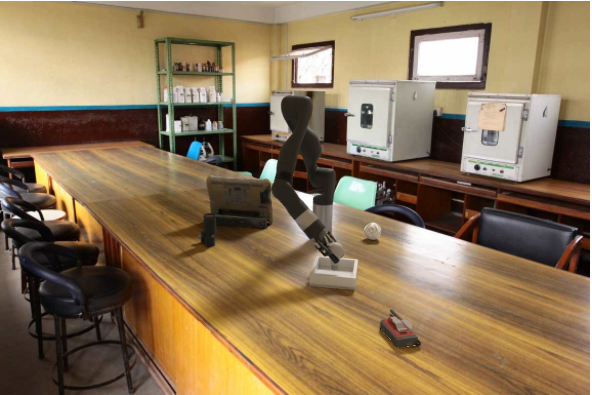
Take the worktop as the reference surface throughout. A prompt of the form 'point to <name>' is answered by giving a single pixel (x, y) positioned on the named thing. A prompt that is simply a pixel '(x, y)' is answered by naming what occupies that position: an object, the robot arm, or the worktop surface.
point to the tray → (334, 273)
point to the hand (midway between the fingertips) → (339, 259)
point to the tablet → (240, 201)
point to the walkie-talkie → (399, 331)
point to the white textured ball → (372, 231)
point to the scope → (208, 230)
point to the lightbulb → (336, 254)
